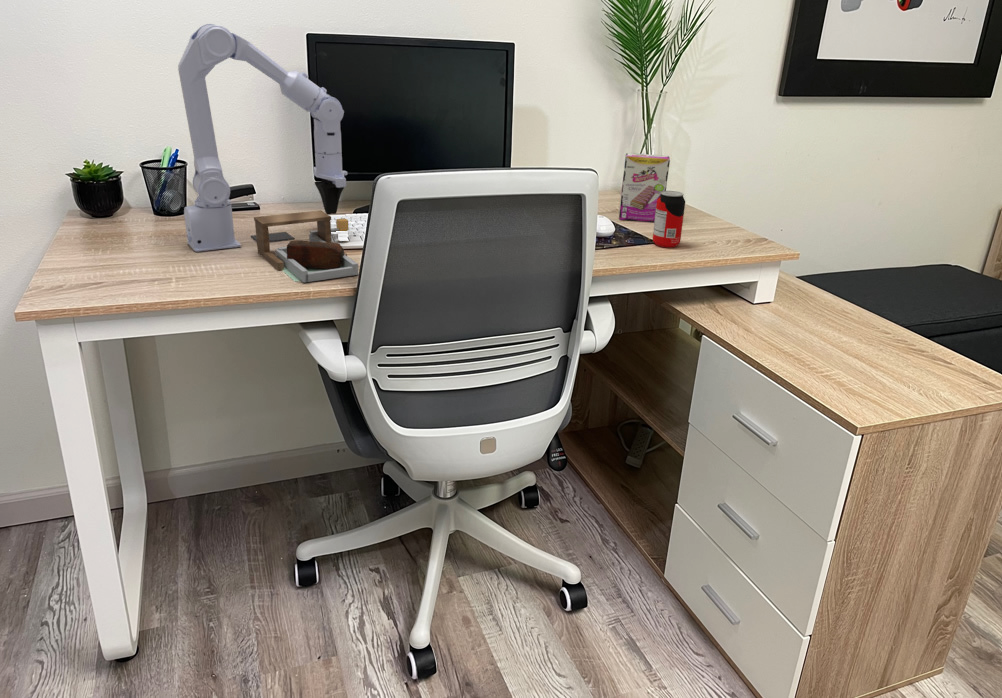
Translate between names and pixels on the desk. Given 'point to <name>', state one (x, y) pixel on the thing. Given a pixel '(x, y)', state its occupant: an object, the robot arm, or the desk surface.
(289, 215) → the tunnel
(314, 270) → the mat
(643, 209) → the candy bar box
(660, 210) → the beverage can
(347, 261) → the tray
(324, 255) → the brick
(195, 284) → the desk surface
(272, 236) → the pit marker
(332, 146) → the robot arm
